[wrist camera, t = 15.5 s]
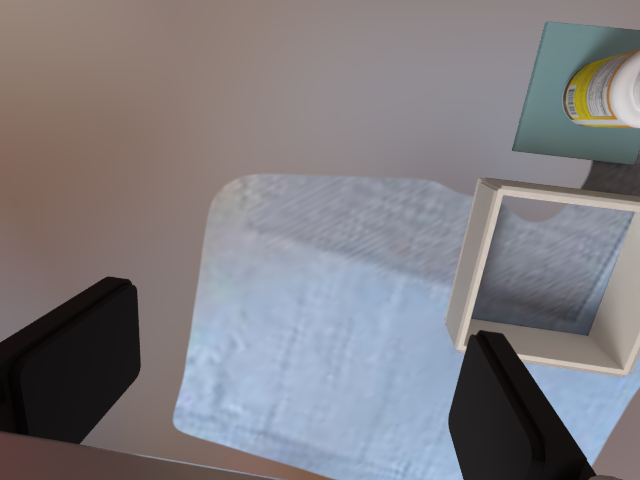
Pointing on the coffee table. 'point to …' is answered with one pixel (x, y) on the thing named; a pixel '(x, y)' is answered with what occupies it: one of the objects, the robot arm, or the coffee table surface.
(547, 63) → the mat
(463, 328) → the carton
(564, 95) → the supplement bottle
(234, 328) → the coffee table surface
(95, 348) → the robot arm
